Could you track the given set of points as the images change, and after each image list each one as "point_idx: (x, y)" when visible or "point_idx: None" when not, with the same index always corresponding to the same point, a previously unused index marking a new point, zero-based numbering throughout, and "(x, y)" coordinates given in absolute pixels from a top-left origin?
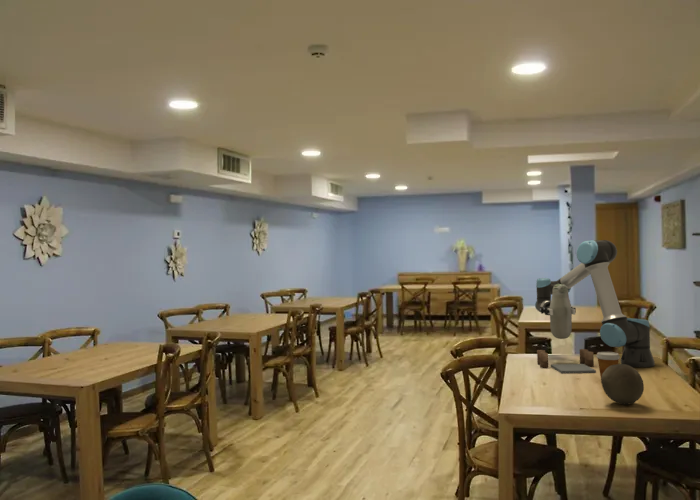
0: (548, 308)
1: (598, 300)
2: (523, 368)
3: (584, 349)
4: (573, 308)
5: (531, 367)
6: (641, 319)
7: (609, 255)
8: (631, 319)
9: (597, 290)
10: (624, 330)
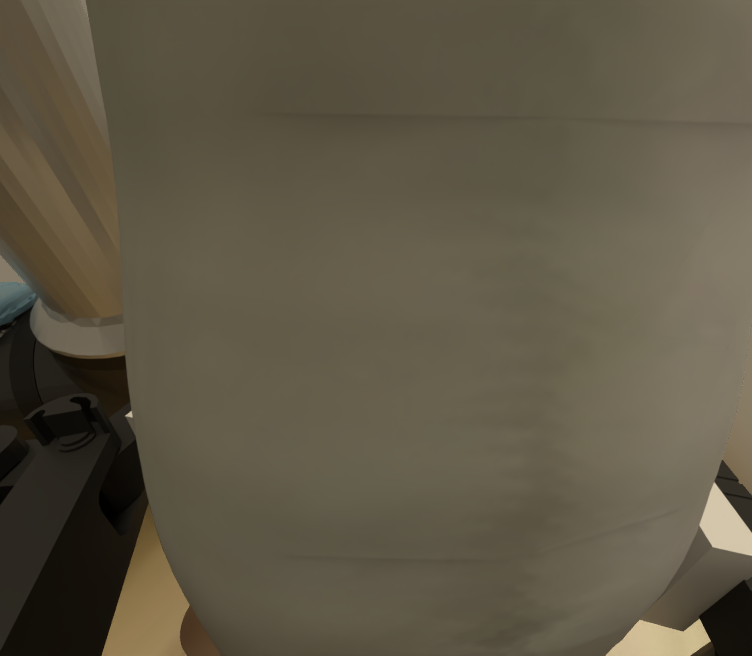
0: (728, 546)
1: (88, 163)
2: (677, 635)
3: (201, 625)
4: (18, 450)
5: (624, 651)
6: (5, 282)
7: None
8: (30, 292)
9: (75, 26)
10: None
